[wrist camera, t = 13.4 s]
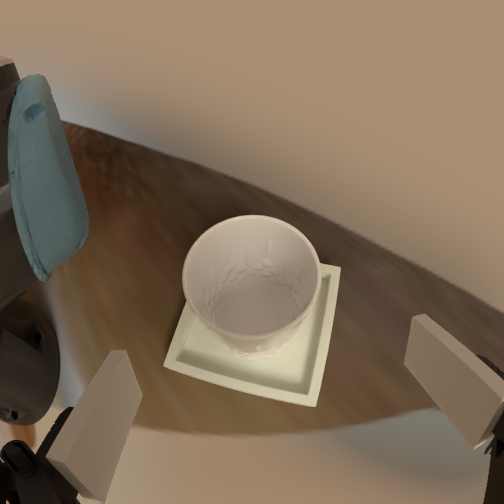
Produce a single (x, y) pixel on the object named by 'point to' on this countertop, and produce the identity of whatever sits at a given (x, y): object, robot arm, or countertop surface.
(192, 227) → the countertop surface
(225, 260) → the white cup
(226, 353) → the coaster tray
